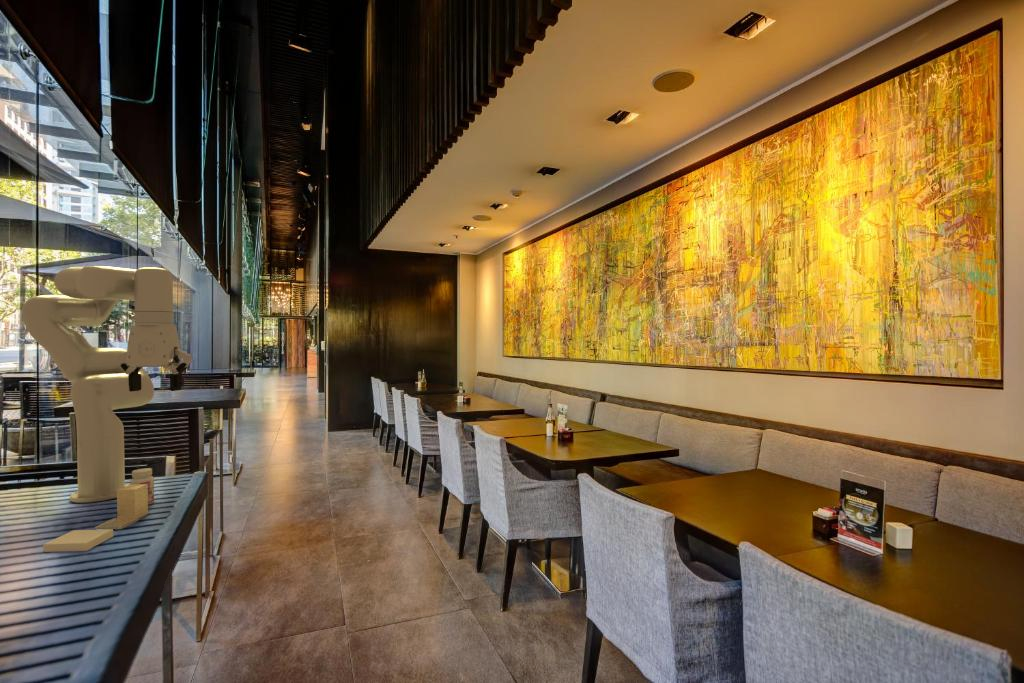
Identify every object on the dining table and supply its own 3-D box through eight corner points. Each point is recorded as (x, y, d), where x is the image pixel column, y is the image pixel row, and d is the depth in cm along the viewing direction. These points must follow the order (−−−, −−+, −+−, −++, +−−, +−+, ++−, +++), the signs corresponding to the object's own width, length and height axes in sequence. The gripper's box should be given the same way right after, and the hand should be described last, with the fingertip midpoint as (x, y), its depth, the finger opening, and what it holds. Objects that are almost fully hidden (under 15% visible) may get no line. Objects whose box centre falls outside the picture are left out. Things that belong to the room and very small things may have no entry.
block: (73, 530, 104) (43, 544, 97) (113, 529, 104) (86, 542, 97) (73, 538, 104) (43, 553, 97) (113, 537, 104) (86, 552, 97)
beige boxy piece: (127, 514, 117) (126, 484, 117) (151, 514, 117) (150, 484, 117) (94, 529, 108) (94, 497, 108) (120, 529, 108) (120, 496, 108)
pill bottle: (141, 507, 121) (141, 473, 121) (125, 506, 122) (124, 472, 122) (159, 501, 126) (158, 467, 126) (143, 500, 127) (142, 467, 127)
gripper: (105, 319, 117) (107, 392, 117) (180, 318, 117) (181, 392, 118) (129, 320, 125) (131, 389, 125) (200, 319, 125) (201, 388, 125)
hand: (155, 390), depth 121 cm, fingers open, 9 cm apart
